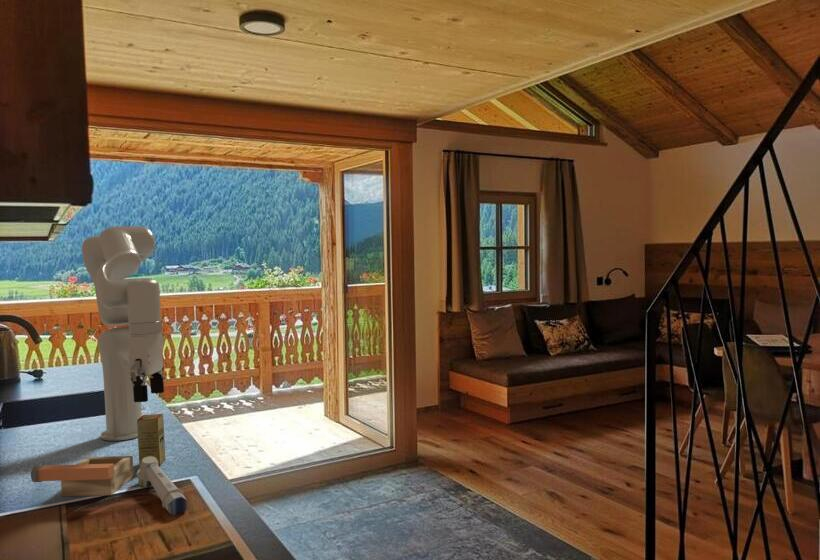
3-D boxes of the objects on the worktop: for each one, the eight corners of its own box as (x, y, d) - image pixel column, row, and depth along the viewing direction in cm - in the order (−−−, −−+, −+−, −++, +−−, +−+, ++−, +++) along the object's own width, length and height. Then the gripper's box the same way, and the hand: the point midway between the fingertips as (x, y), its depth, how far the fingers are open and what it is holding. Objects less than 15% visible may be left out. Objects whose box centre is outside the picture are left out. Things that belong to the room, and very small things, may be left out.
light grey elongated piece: (165, 500, 124) (133, 452, 144) (165, 531, 125) (134, 479, 145) (191, 493, 127) (157, 447, 147) (191, 523, 128) (157, 474, 148)
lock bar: (41, 478, 136) (40, 462, 135) (115, 476, 135) (114, 460, 135) (31, 484, 132) (30, 468, 132) (107, 482, 132) (106, 466, 132)
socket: (87, 477, 148) (86, 457, 148) (133, 476, 148) (132, 455, 148) (61, 496, 137) (60, 474, 137) (111, 494, 137) (110, 472, 137)
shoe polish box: (139, 468, 154) (136, 420, 153) (145, 461, 159) (142, 415, 158) (160, 466, 155) (157, 419, 154) (165, 460, 160) (163, 413, 159)
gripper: (145, 325, 164) (149, 390, 164) (113, 334, 146) (118, 406, 147) (173, 324, 164) (177, 389, 164) (145, 332, 146) (150, 404, 147)
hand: (149, 397), depth 156 cm, fingers open, 9 cm apart
